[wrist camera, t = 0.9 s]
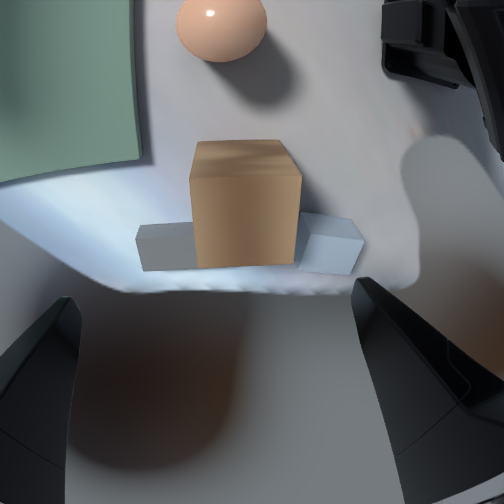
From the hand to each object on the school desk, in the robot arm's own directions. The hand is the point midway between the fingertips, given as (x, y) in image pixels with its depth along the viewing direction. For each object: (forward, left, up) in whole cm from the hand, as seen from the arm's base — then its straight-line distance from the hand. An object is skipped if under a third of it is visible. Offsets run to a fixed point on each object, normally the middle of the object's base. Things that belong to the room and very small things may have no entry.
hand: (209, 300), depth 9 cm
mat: (+11, -8, -12) cm, 18 cm away
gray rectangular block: (+2, +6, -12) cm, 14 cm away
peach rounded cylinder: (-1, -8, -12) cm, 15 cm away
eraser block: (-8, +6, -12) cm, 15 cm away
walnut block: (-2, +1, -12) cm, 12 cm away
